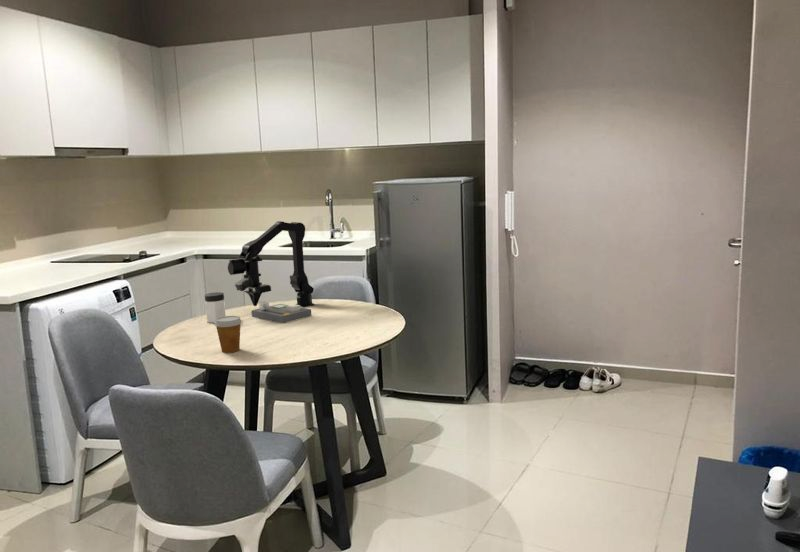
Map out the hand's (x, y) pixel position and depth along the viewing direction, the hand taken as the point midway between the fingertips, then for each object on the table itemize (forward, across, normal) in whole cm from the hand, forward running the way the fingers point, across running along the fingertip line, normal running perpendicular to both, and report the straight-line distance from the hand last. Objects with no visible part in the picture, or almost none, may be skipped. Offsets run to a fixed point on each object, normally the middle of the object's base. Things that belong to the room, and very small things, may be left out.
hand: (255, 305), depth 296 cm
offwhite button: (+2, +18, +8) cm, 20 cm away
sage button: (+3, +8, +7) cm, 11 cm away
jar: (+4, -6, -16) cm, 18 cm away
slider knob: (+1, +7, 0) cm, 7 cm away
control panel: (+4, +13, +4) cm, 14 cm away
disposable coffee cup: (+4, +41, -40) cm, 58 cm away
